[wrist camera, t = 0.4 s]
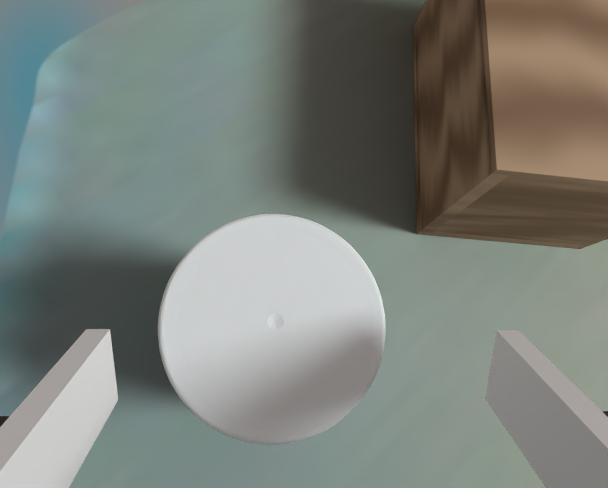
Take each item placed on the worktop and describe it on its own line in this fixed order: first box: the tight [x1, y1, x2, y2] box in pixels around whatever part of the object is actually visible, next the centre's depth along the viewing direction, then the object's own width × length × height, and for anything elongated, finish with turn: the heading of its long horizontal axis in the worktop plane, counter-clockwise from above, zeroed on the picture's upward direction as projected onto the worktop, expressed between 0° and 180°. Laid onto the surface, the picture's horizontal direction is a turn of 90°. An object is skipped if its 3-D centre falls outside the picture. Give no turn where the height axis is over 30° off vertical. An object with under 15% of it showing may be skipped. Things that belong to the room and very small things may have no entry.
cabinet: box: [413, 0, 608, 249], centre depth 33 cm, size 20×14×12 cm
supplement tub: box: [158, 214, 385, 444], centre depth 25 cm, size 10×10×15 cm
